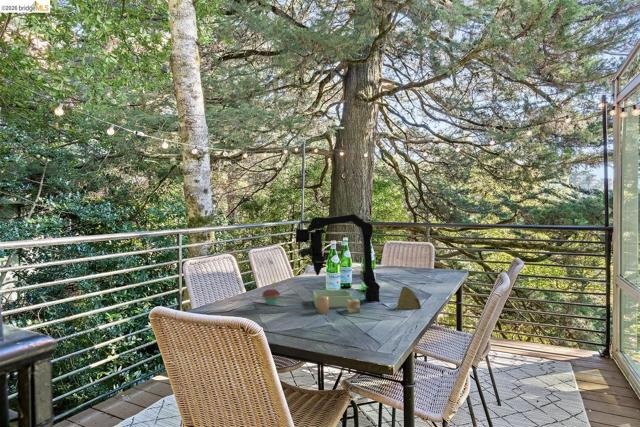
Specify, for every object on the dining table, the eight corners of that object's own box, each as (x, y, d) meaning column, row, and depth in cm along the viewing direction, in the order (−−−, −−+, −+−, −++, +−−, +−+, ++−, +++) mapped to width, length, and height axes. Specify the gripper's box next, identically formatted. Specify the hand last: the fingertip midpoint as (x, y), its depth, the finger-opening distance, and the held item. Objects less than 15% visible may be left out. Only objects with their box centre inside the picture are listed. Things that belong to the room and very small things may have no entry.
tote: (347, 299, 208) (347, 289, 208) (352, 306, 195) (352, 296, 194) (313, 300, 206) (313, 290, 206) (315, 308, 193) (315, 297, 193)
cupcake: (283, 302, 203) (282, 278, 203) (274, 306, 196) (273, 282, 195) (268, 300, 207) (268, 277, 206) (259, 304, 199) (258, 280, 199)
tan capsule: (328, 310, 189) (327, 295, 188) (329, 313, 184) (329, 298, 183) (317, 310, 188) (317, 295, 188) (318, 313, 183) (318, 298, 183)
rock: (425, 301, 194) (405, 296, 199) (423, 290, 189) (403, 284, 194) (416, 319, 187) (396, 313, 193) (414, 308, 182) (393, 301, 188)
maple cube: (357, 309, 190) (357, 298, 190) (359, 312, 185) (359, 301, 185) (347, 309, 190) (347, 299, 189) (349, 312, 185) (349, 302, 184)
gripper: (299, 240, 210) (299, 270, 211) (301, 244, 191) (301, 277, 192) (320, 240, 211) (320, 269, 212) (324, 244, 192) (324, 276, 193)
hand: (316, 273), depth 202 cm, fingers open, 9 cm apart
